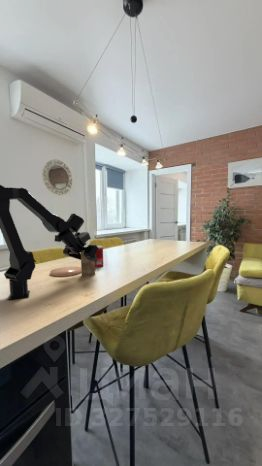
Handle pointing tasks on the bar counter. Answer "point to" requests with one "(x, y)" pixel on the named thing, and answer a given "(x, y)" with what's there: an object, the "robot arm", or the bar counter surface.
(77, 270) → the terracotta dish
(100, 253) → the canned food
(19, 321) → the bar counter surface
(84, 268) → the walnut block
